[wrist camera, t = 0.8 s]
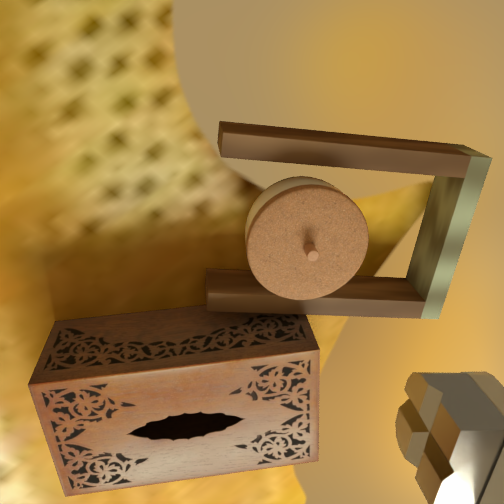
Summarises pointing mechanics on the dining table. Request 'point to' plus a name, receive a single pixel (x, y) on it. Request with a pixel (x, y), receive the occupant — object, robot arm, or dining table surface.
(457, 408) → the robot arm
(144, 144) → the dining table surface
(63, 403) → the tissue box cover
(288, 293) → the lidded jar
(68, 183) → the dining table surface
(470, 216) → the u-shaped frame
